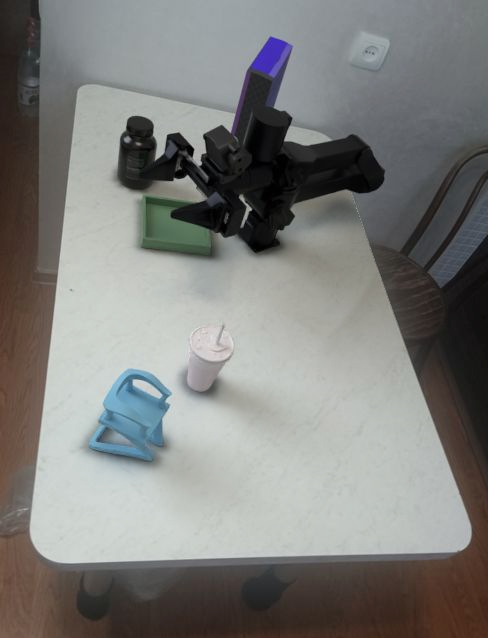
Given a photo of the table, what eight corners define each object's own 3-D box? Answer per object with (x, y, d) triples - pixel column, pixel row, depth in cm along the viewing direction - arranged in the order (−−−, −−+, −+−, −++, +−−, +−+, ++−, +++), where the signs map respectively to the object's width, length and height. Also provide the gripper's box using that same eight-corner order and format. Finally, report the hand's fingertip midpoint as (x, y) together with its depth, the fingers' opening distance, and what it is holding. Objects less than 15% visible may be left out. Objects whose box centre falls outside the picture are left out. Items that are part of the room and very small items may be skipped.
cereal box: (240, 144, 122) (270, 35, 104) (259, 152, 123) (293, 44, 104) (217, 184, 111) (247, 69, 93) (238, 193, 111) (272, 80, 93)
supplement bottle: (159, 181, 107) (167, 126, 98) (136, 194, 103) (143, 138, 94) (132, 163, 108) (138, 107, 99) (109, 176, 104) (113, 119, 95)
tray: (204, 211, 105) (206, 203, 103) (209, 255, 98) (211, 247, 96) (141, 202, 102) (142, 194, 100) (141, 247, 95) (142, 238, 93)
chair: (143, 476, 70) (155, 432, 61) (87, 446, 70) (90, 398, 61) (171, 430, 75) (185, 383, 65) (118, 403, 75) (125, 352, 66)
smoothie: (214, 404, 79) (237, 348, 68) (172, 391, 79) (189, 332, 68) (224, 371, 83) (247, 312, 72) (184, 358, 83) (202, 297, 72)
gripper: (217, 95, 84) (127, 106, 75) (289, 168, 77) (199, 188, 69) (203, 157, 92) (121, 173, 84) (267, 228, 85) (185, 252, 77)
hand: (154, 194), depth 78 cm, fingers open, 9 cm apart
